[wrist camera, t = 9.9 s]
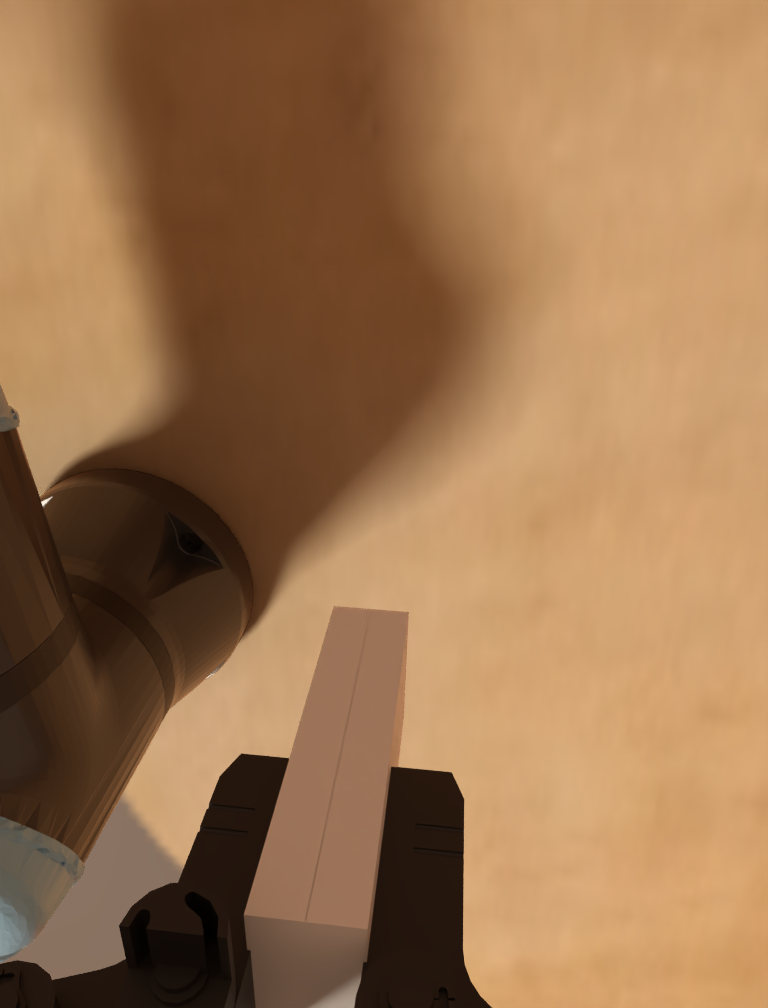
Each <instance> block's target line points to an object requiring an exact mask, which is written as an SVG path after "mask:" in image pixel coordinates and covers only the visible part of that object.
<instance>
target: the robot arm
mask: <svg viewBox="0 0 768 1008" xmlns="http://www.w3.org/2000/svg"><path fill="white" fill-rule="evenodd" d="M19 422H20V421H19V415H18V413H17V411H16V410H15V409H13V408H12V407H11V406H9V405H8V402H7V400H6V397H5V395H4V393H3V390H2V388H1V385H0V963H1V962H4V961H5V960H7V959H9V958H10V957H12V956H15V955H16V954H18V953H19V952H20V951H21V950H22V949H23V948H24V947H26V946H28V945H29V944H30V943H32V942H33V941H34V940H35V939H36V938H37V936H38V935H39V934H40V933H41V931H42V930H43V929H44V927H45V926H46V924H47V923H48V921H49V919H50V918H51V917H52V915H53V914H54V912H55V911H56V909H57V908H58V906H59V905H60V903H61V902H62V900H63V899H64V897H65V896H66V894H67V893H68V891H69V890H70V889H71V887H72V886H74V885H75V884H76V883H77V882H78V881H79V879H80V878H81V876H82V874H83V871H84V868H85V867H84V866H83V865H84V863H85V861H86V859H87V857H88V855H89V854H90V852H91V850H92V848H93V846H94V845H95V843H96V841H97V839H98V837H99V835H100V833H101V831H102V830H103V828H104V826H105V824H106V822H107V821H108V819H109V817H110V815H111V813H112V812H113V810H114V808H115V806H116V804H117V803H118V801H119V799H120V797H121V795H122V793H123V792H124V790H125V788H126V786H127V784H128V783H129V781H130V779H131V777H132V775H133V774H134V772H135V770H136V768H137V766H138V765H139V763H140V761H141V759H142V757H143V756H144V754H145V752H146V750H147V748H148V746H149V745H150V743H151V741H152V739H153V737H154V736H155V734H156V732H157V730H158V728H159V726H160V724H161V722H162V721H163V719H164V717H165V715H166V714H167V712H168V710H169V709H170V708H171V707H172V706H174V705H175V704H176V703H177V702H179V701H180V700H181V699H182V698H183V697H185V696H186V695H187V694H188V693H190V692H191V691H192V690H193V689H194V688H195V687H197V686H198V685H199V684H200V683H201V682H203V681H204V680H206V679H207V678H209V677H210V676H212V675H213V674H214V673H215V672H217V671H218V670H219V669H220V668H221V667H222V666H223V665H224V664H225V662H226V661H227V660H228V659H229V657H230V656H231V655H232V653H233V652H234V650H235V648H236V646H237V644H238V642H239V640H240V638H241V636H242V634H243V632H244V630H245V628H246V626H247V624H248V621H249V618H250V615H251V610H252V603H253V585H252V578H251V573H250V569H249V566H248V563H247V560H246V558H245V555H244V553H243V551H242V549H241V547H240V545H239V543H238V542H237V540H236V538H235V537H234V535H233V534H232V532H231V531H230V530H229V528H228V527H227V526H226V524H225V523H224V522H223V521H222V520H221V519H220V518H219V517H218V516H217V515H216V514H215V513H214V512H213V511H212V510H211V509H210V508H209V507H208V506H207V505H206V504H204V503H203V502H202V501H200V500H199V499H198V498H196V497H195V496H194V495H192V494H191V493H189V492H187V491H186V490H184V489H182V488H181V487H179V486H177V485H175V484H173V483H171V482H168V481H166V480H164V479H161V478H158V477H156V476H152V475H149V474H146V473H141V472H137V471H131V470H122V469H100V470H93V471H88V472H83V473H80V474H76V475H74V476H71V477H69V478H67V479H65V480H63V481H61V482H59V483H58V484H56V485H55V486H53V487H52V488H51V489H49V490H48V491H47V492H46V493H44V494H43V495H42V496H41V497H39V494H38V491H37V488H36V485H35V482H34V479H33V476H32V473H31V470H30V467H29V464H28V461H27V458H26V455H25V452H24V449H23V446H22V443H21V440H20V437H19V434H18V431H17V427H18V426H19ZM408 614H409V612H398V611H386V610H374V609H361V608H349V607H336V606H334V607H333V611H332V614H331V618H330V621H329V625H328V628H327V631H326V635H325V638H324V642H323V645H322V649H321V652H320V655H319V659H318V662H317V666H316V669H315V673H314V676H313V679H312V683H311V686H310V690H309V693H308V697H307V700H306V703H305V707H304V710H303V714H302V717H301V721H300V724H299V727H298V731H297V734H296V738H295V741H294V745H293V748H292V751H291V755H290V758H280V757H270V756H260V755H250V754H241V755H240V756H239V757H238V758H237V759H236V760H235V761H234V762H233V763H232V764H231V765H230V766H229V767H228V768H227V769H226V770H225V771H224V772H223V774H222V775H221V776H220V777H219V780H218V782H217V785H216V787H215V790H214V793H213V795H212V798H211V800H210V803H209V808H208V809H207V810H206V813H205V815H204V818H203V821H202V823H201V826H200V831H199V832H198V833H197V836H196V838H195V841H194V843H193V846H192V849H191V851H190V854H189V856H188V859H187V861H186V864H185V866H184V869H183V871H182V874H181V877H180V879H179V882H178V883H170V884H168V885H165V886H163V887H160V888H158V889H155V890H153V891H151V892H149V893H148V894H146V895H145V896H144V897H143V898H142V899H140V900H139V901H138V902H137V903H135V904H134V905H133V906H132V907H131V908H130V910H129V911H128V913H127V915H126V916H125V917H124V919H123V921H122V922H121V923H120V925H119V928H120V932H121V937H122V942H123V947H124V951H125V956H126V959H125V960H123V961H121V962H120V963H118V964H116V965H113V966H110V967H107V968H104V969H101V970H97V971H92V972H88V973H83V974H78V975H74V976H69V977H65V978H60V979H55V980H52V979H51V976H50V974H48V973H47V972H46V971H44V969H42V968H41V967H40V966H39V965H37V964H35V963H29V962H24V961H12V962H7V963H3V964H0V1008H492V1007H491V1006H490V1005H489V1004H488V1003H487V1002H486V1001H485V1000H484V999H483V998H482V997H481V996H480V995H479V993H478V992H477V990H476V989H475V987H474V986H473V984H472V982H471V981H470V978H469V975H468V973H467V970H466V967H465V964H464V955H463V865H464V859H463V854H464V798H463V796H462V794H461V791H460V789H459V787H458V785H457V783H456V781H455V779H454V777H453V774H452V772H442V771H432V770H421V769H411V768H401V767H398V762H399V753H400V744H401V735H402V727H403V718H404V697H405V677H406V656H407V635H408Z"/></svg>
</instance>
